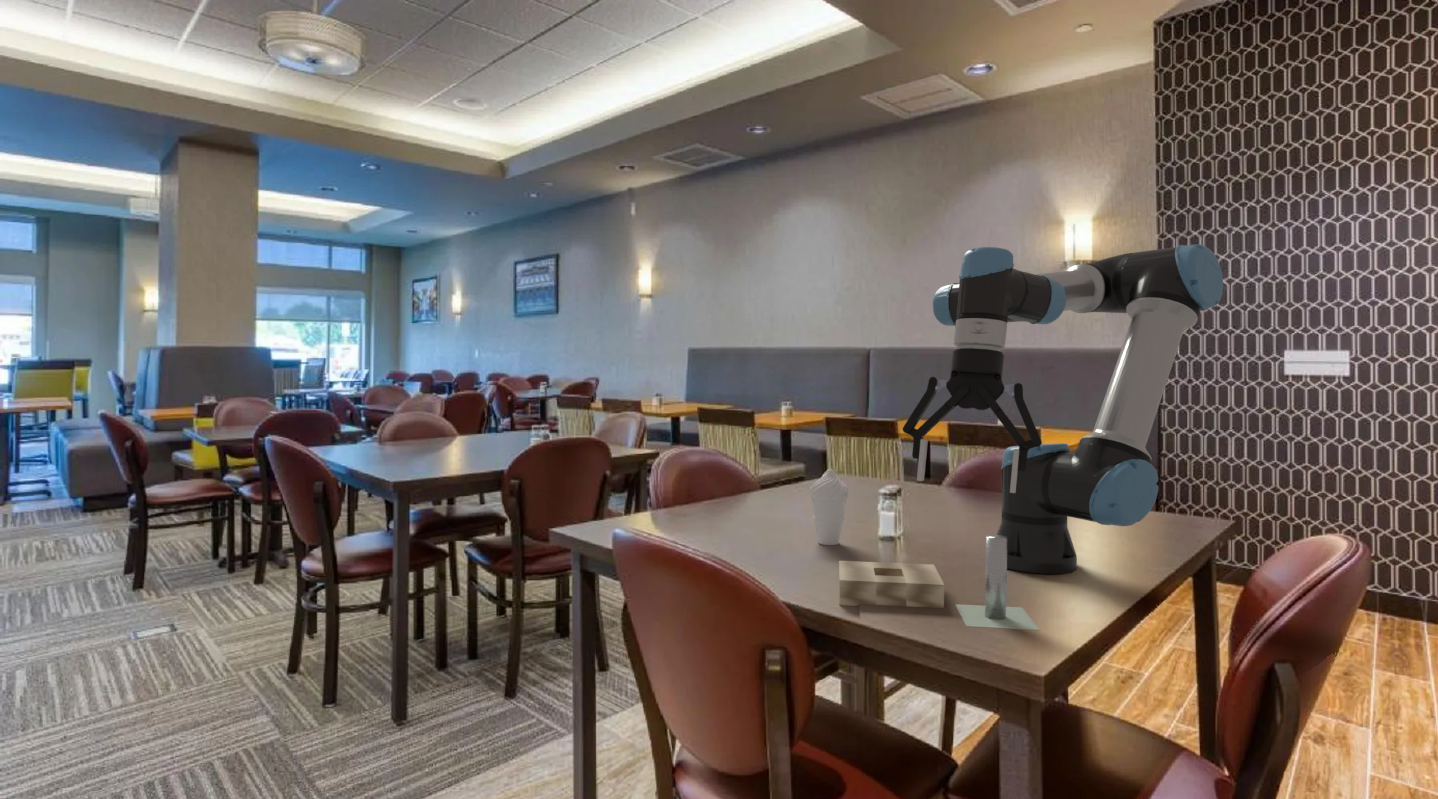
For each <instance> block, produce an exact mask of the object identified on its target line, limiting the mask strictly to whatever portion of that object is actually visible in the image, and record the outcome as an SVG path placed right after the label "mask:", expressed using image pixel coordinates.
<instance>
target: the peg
mask: <svg viewBox="0 0 1438 799" xmlns="http://www.w3.org/2000/svg"><path fill="white" fill-rule="evenodd" d="M984 566H985V570H984V571H985V572H984V573H985V575H984V577H985V578H984V579H985V580H984V582H985V583H984V586H985V587H984V591H985V592H984V606H985V617H987V618H990V619H994V620H1003V619H1006V607H1007V594H1008V593H1007V590H1008V589H1007V584H1008V582H1007V581H1008V579H1007V577H1008V576H1007V575H1008V574H1007V573H1008V568H1007V537H1006V536H1002V535H997V534H987V535H985V565H984Z"/></svg>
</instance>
